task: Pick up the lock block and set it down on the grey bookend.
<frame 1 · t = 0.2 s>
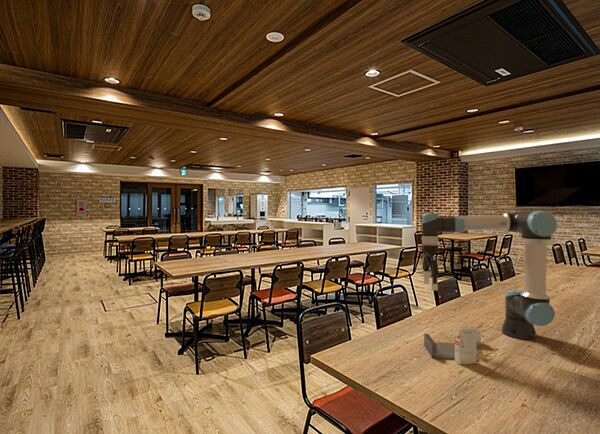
hand: (430, 287, 165), 27 cm above the table, fingers open, 13 cm apart
grey bookend: (448, 352, 153), on the table
lock block: (469, 343, 163), on the table
brass key: (481, 357, 148), on the table
ink box: (465, 362, 143), on the table
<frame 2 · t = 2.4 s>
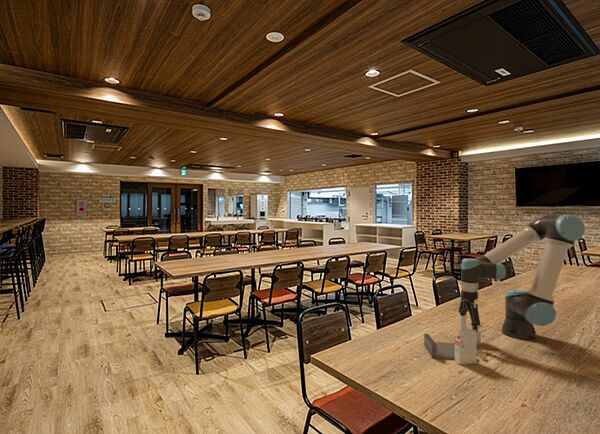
hand: (468, 333, 163), 5 cm above the table, fingers open, 13 cm apart
nothing on the table moved.
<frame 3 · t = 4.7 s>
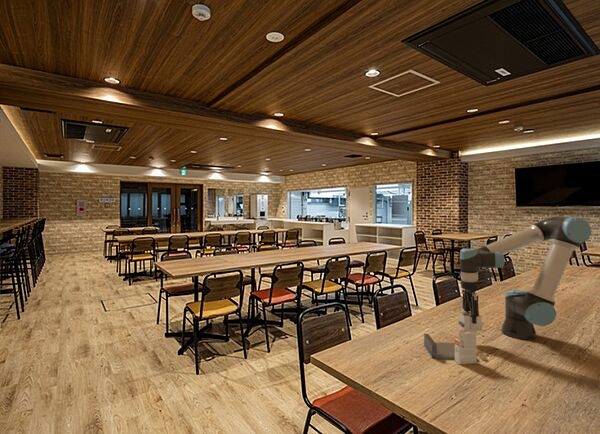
hand: (470, 327, 163), 8 cm above the table, fingers closed on lock block, 6 cm apart
lock block: (470, 328, 163), point 7 cm above the table, touching gripper
everything else where it was.
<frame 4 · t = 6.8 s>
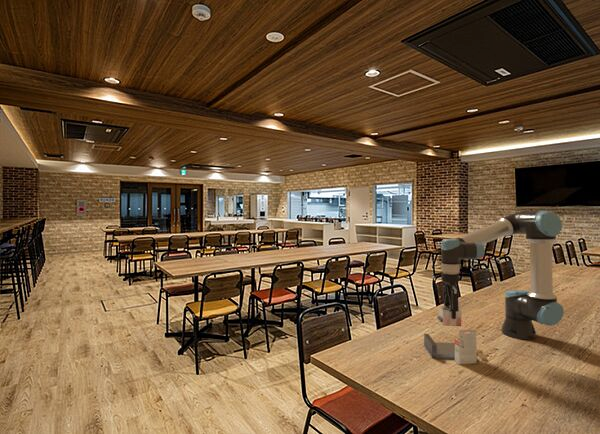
hand: (450, 322, 153), 14 cm above the table, fingers closed on lock block, 6 cm apart
lock block: (449, 323, 153), point 13 cm above the table, touching gripper
everything else where it was.
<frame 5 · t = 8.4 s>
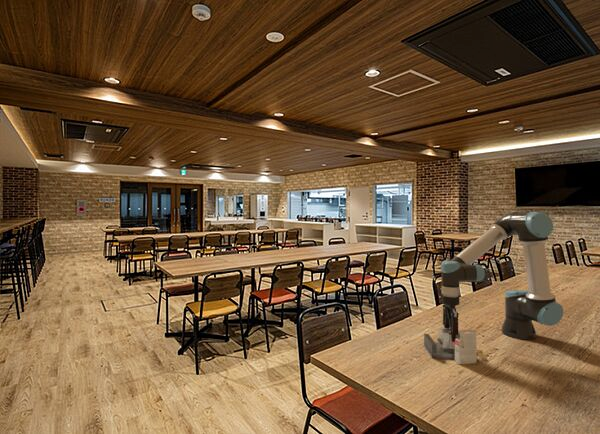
hand: (450, 345, 153), 3 cm above the table, fingers closed on lock block, 6 cm apart
lock block: (449, 346, 153), point 3 cm above the table, touching gripper
everything else where it was.
when the fingers open (2 cm above the table, at t = 9.2 s): lock block stays where it is, resting on grey bookend.
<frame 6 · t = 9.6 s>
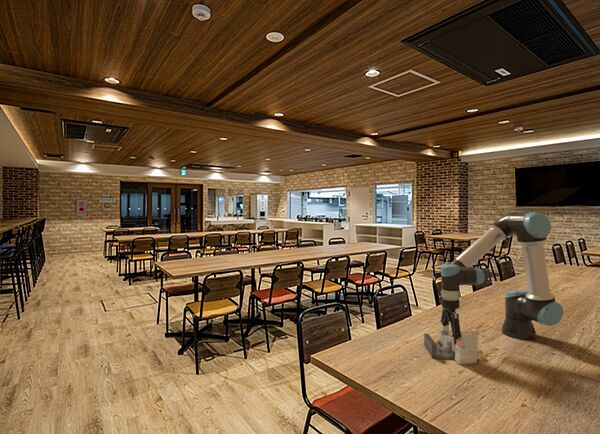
hand: (450, 345, 153), 4 cm above the table, fingers open, 12 cm apart
lock block: (449, 348, 153), point 2 cm above the table, touching grey bookend
ink box: (465, 362, 143), on the table, touching gripper
everything else where it was.
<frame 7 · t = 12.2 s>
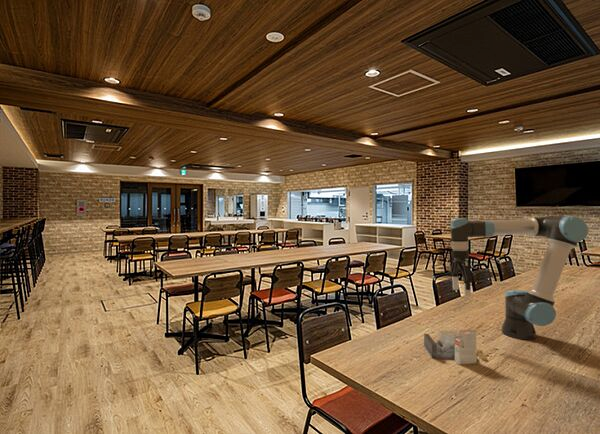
hand: (461, 292, 163), 25 cm above the table, fingers open, 13 cm apart
ink box: (465, 362, 143), on the table
everything else where it was.
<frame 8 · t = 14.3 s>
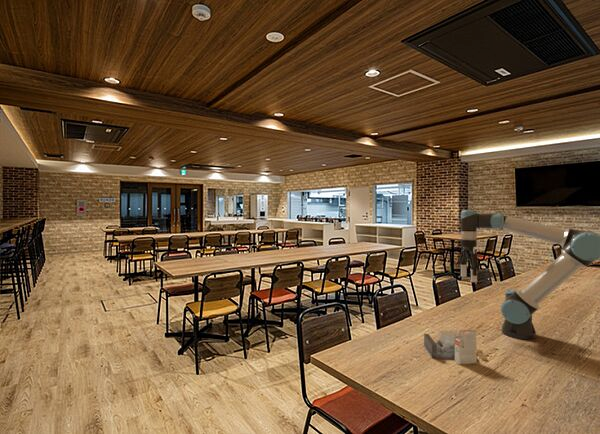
hand: (468, 279, 176), 29 cm above the table, fingers open, 13 cm apart
nothing on the table moved.
at the end: lock block inside the target area on the grey bookend (0.6 cm from its centre), point 2.0 cm above the grey bookend's base; lock block tilted 0°; lock block touching grey bookend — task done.
